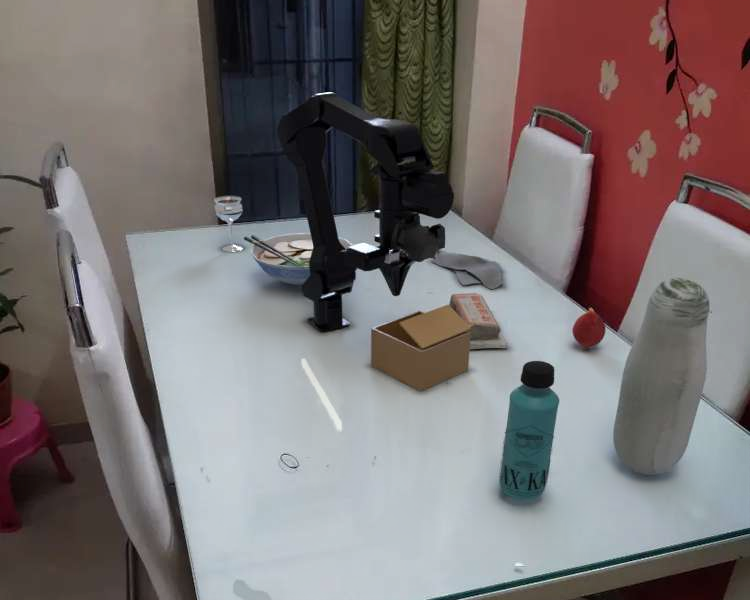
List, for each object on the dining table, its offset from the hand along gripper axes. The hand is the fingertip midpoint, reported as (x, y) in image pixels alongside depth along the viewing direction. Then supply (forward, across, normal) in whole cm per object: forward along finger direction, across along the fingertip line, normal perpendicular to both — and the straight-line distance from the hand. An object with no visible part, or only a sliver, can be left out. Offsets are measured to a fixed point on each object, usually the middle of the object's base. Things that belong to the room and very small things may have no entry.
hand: (395, 295), depth 138 cm
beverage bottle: (+13, -16, -43) cm, 48 cm away
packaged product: (+12, +19, -2) cm, 23 cm away
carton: (+12, 0, -6) cm, 13 cm away
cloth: (+12, +44, +22) cm, 51 cm away
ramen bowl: (+12, +11, +42) cm, 45 cm away
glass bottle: (+13, +2, -50) cm, 52 cm away
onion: (+12, +29, -21) cm, 38 cm away
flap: (+3, 0, -10) cm, 10 cm away
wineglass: (+11, +11, +72) cm, 73 cm away
